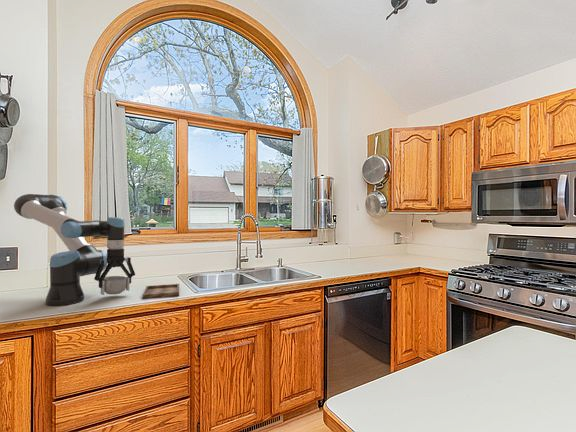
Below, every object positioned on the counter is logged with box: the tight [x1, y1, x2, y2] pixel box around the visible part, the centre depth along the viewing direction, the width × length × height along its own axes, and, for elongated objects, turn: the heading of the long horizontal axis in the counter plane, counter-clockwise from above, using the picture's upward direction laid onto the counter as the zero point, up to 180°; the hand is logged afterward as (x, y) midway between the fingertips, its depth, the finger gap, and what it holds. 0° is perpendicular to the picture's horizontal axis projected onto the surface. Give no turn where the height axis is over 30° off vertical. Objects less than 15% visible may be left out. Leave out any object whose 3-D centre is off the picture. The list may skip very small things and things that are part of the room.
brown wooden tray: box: [142, 283, 180, 300], centre depth 172 cm, size 17×20×2 cm
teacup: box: [103, 275, 128, 295], centre depth 162 cm, size 14×11×8 cm
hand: (115, 292), depth 163 cm, fingers closed on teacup, 11 cm apart
